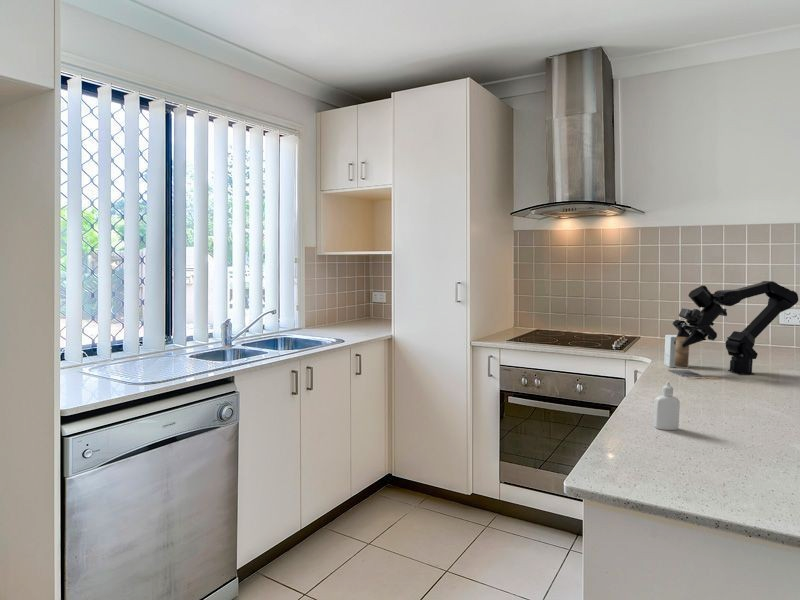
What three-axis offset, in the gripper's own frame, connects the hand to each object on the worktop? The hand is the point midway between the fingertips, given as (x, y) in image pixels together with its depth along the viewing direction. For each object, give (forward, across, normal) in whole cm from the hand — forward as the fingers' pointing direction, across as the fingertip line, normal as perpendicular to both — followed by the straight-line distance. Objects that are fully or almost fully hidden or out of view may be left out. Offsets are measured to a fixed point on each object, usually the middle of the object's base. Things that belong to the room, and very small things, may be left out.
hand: (678, 345), depth 198 cm
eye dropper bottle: (+40, +62, -24) cm, 78 cm away
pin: (+5, 0, +7) cm, 8 cm away
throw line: (+5, +8, +11) cm, 14 cm away
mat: (+6, 0, +10) cm, 12 cm away
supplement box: (+2, -14, +14) cm, 20 cm away
